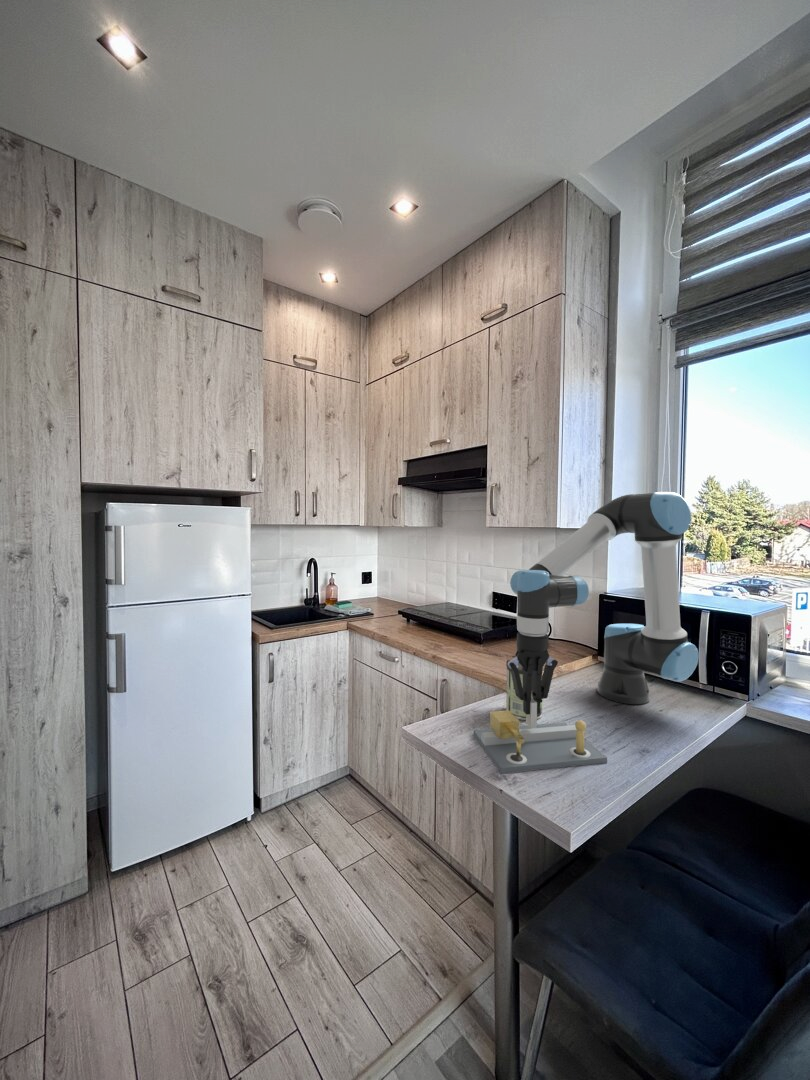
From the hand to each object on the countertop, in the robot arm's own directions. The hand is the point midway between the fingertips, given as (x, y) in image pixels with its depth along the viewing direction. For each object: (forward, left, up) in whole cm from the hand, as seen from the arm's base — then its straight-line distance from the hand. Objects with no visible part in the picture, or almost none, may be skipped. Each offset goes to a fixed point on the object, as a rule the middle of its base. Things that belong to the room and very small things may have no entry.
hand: (531, 725), depth 108 cm
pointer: (+7, +3, -2) cm, 8 cm away
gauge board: (0, +2, -4) cm, 5 cm away
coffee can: (-6, -17, -5) cm, 19 cm away
